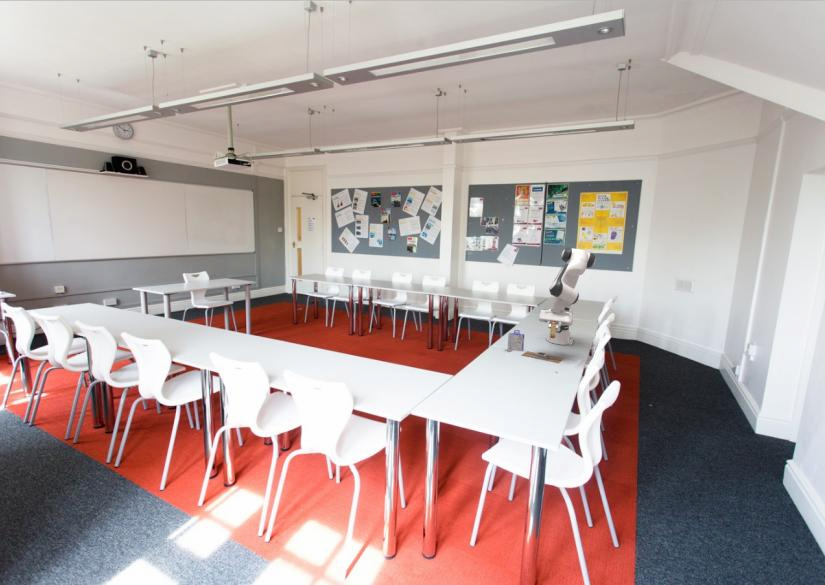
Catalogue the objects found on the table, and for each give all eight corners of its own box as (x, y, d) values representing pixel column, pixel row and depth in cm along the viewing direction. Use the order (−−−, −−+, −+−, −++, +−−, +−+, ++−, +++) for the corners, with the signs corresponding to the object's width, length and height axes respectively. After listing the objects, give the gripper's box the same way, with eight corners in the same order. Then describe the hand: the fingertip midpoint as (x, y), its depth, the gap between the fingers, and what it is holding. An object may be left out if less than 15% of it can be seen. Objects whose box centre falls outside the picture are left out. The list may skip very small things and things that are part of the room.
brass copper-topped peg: (550, 336, 253) (551, 321, 251) (555, 337, 251) (556, 321, 249) (549, 337, 250) (550, 321, 249) (554, 338, 248) (555, 322, 247)
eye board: (527, 353, 269) (527, 347, 268) (564, 360, 255) (564, 354, 254) (520, 357, 259) (521, 351, 258) (558, 365, 245) (559, 359, 244)
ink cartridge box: (523, 351, 273) (525, 330, 270) (521, 353, 268) (523, 332, 266) (509, 349, 277) (510, 328, 275) (507, 351, 272) (508, 330, 270)
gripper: (540, 305, 259) (535, 323, 253) (574, 309, 248) (569, 327, 242) (542, 311, 264) (537, 328, 257) (575, 315, 253) (570, 333, 246)
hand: (553, 328), depth 249 cm, fingers closed on brass copper-topped peg, 3 cm apart
